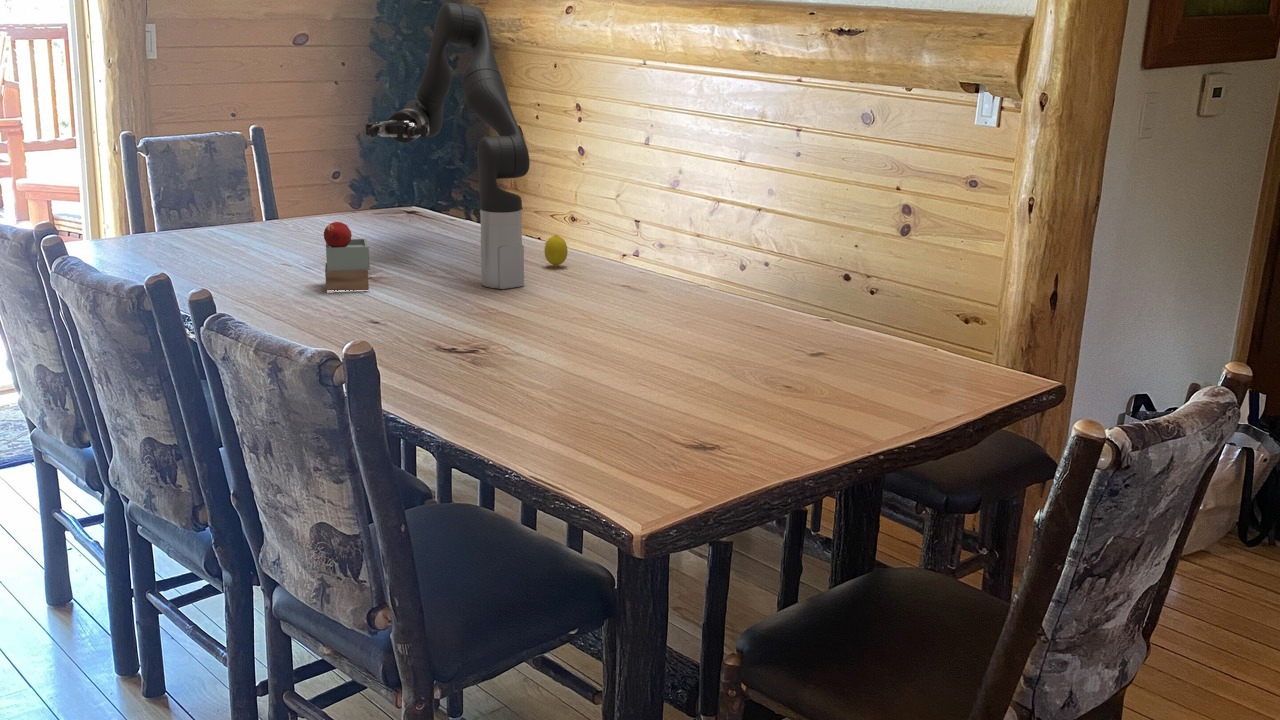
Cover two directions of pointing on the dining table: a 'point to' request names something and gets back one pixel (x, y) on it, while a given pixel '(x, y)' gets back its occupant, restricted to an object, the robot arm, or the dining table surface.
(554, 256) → the lemon
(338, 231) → the onion
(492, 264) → the robot arm
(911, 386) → the dining table surface
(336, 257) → the tower top
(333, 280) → the tower base
